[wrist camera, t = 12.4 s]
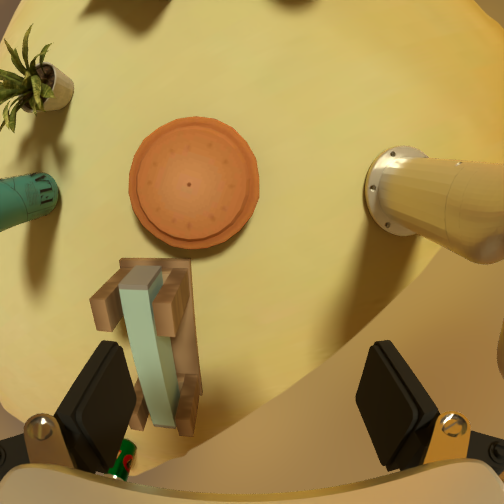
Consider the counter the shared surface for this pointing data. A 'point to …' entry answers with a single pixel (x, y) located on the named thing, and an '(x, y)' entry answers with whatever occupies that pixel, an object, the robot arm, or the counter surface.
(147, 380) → the rail
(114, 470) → the soda can
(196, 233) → the pie
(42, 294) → the counter surface
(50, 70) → the house plant
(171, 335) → the post stand
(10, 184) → the beverage bottle
